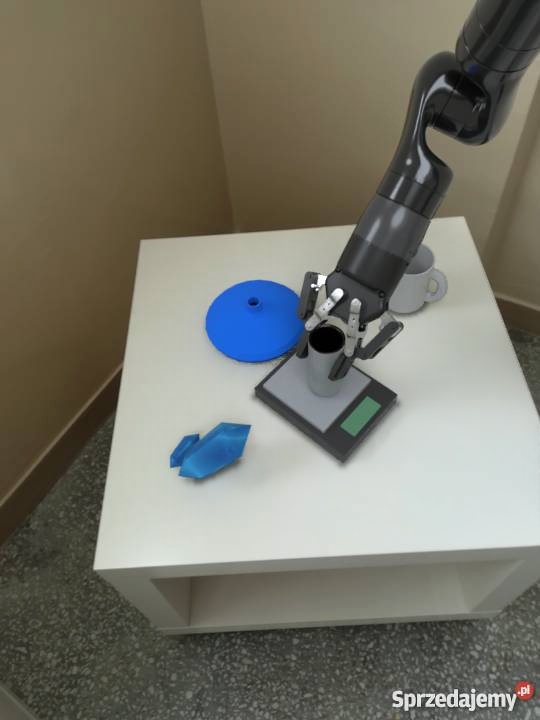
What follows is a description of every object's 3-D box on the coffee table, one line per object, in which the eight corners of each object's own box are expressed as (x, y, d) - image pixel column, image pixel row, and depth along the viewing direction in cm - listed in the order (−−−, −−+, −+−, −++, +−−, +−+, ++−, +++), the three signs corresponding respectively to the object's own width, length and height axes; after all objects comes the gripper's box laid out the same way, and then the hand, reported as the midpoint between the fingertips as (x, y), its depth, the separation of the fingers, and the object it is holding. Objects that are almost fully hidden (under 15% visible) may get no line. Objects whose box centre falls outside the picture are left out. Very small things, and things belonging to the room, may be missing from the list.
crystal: (148, 443, 66) (227, 389, 67) (177, 462, 74) (247, 413, 74) (172, 492, 63) (255, 434, 63) (200, 507, 70) (274, 455, 71)
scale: (395, 402, 75) (398, 391, 72) (343, 463, 70) (344, 453, 68) (308, 344, 82) (308, 331, 79) (255, 396, 77) (253, 384, 74)
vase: (326, 345, 81) (326, 317, 75) (232, 388, 78) (225, 362, 72) (279, 279, 89) (277, 248, 84) (193, 315, 86) (184, 286, 81)
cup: (389, 275, 88) (396, 235, 81) (448, 294, 85) (461, 254, 78) (372, 305, 85) (378, 266, 77) (433, 326, 82) (445, 288, 74)
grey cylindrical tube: (310, 367, 74) (309, 322, 65) (343, 369, 73) (346, 324, 65) (307, 395, 71) (306, 352, 63) (341, 398, 71) (344, 355, 62)
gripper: (320, 212, 61) (258, 340, 66) (428, 269, 55) (350, 404, 60) (346, 222, 67) (288, 338, 73) (445, 274, 61) (374, 396, 67)
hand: (317, 367), depth 67 cm, fingers closed on grey cylindrical tube, 4 cm apart
